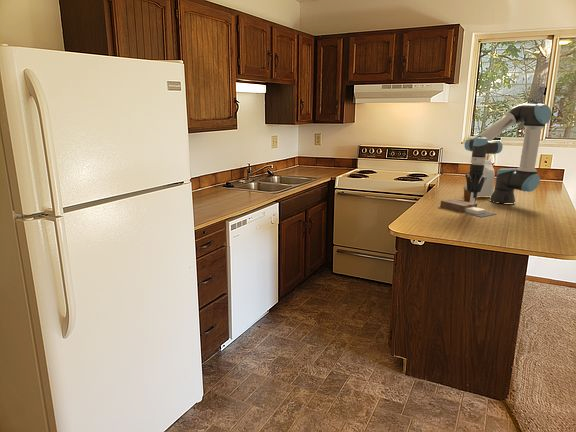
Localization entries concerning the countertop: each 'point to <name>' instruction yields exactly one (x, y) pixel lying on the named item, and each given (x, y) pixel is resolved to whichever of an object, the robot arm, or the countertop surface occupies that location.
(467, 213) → the rubber mat
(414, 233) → the countertop surface
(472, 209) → the coaster
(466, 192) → the disposable coffee cup
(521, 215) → the countertop surface
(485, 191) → the milk
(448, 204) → the walnut board
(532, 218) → the countertop surface
